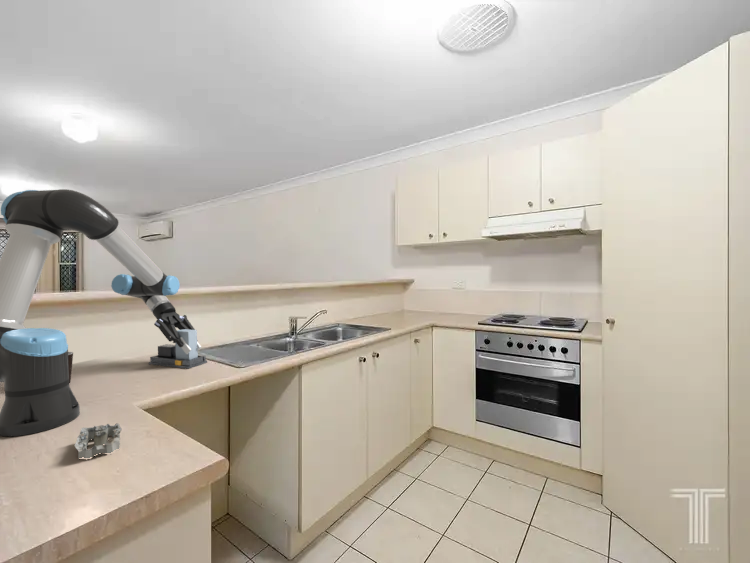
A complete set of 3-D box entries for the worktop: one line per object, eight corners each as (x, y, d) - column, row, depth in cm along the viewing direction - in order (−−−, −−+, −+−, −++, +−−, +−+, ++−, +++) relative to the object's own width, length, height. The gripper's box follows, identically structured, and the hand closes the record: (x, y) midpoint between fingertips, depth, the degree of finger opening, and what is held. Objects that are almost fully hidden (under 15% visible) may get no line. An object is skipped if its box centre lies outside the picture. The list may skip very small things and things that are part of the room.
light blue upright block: (189, 359, 135) (188, 331, 135) (176, 358, 138) (174, 330, 137) (197, 357, 139) (196, 330, 139) (184, 355, 142) (183, 329, 141)
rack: (188, 368, 132) (187, 350, 132) (148, 364, 140) (148, 347, 139) (207, 362, 141) (206, 345, 140) (168, 358, 148) (168, 342, 148)
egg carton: (120, 454, 73) (119, 435, 73) (73, 465, 69) (72, 445, 69) (123, 433, 82) (122, 416, 82) (81, 442, 78) (81, 424, 78)
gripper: (175, 311, 151) (206, 351, 146) (136, 316, 135) (169, 362, 130) (184, 299, 149) (215, 339, 144) (145, 303, 133) (180, 349, 128)
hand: (193, 350), depth 137 cm, fingers closed on light blue upright block, 4 cm apart
